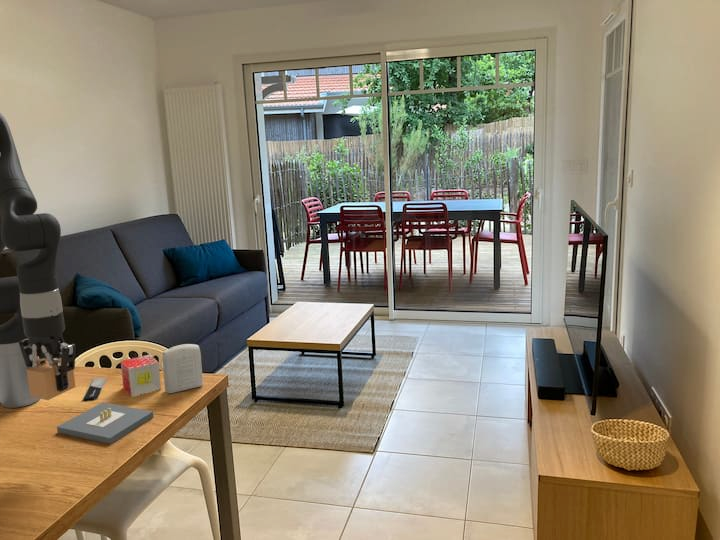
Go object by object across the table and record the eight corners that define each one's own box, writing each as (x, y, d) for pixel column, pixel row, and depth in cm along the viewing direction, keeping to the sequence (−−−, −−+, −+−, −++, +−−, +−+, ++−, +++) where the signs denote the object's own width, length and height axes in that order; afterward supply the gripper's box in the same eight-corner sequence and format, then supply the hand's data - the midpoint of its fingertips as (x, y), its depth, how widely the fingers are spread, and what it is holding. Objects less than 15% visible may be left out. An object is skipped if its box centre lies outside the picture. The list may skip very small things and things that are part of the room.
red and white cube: (131, 397, 156) (128, 369, 154) (123, 387, 162) (120, 360, 160) (161, 389, 160) (159, 362, 159) (152, 380, 167) (150, 354, 165)
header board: (57, 432, 137) (55, 418, 136) (103, 407, 150) (101, 394, 149) (110, 444, 131) (108, 429, 131) (153, 417, 144) (152, 403, 143)
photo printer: (200, 381, 165) (196, 339, 163) (205, 386, 162) (201, 343, 159) (163, 390, 160) (159, 347, 157) (167, 395, 156) (163, 351, 154)
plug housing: (30, 396, 123) (26, 369, 121) (58, 383, 129) (54, 358, 128) (48, 400, 121) (44, 372, 119) (75, 387, 127) (72, 360, 126)
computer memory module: (92, 378, 168) (107, 376, 168) (92, 381, 168) (107, 380, 169) (81, 399, 154) (97, 397, 154) (81, 403, 154) (98, 401, 155)
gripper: (0, 313, 120) (13, 390, 124) (52, 319, 115) (63, 400, 119) (33, 303, 127) (43, 377, 131) (83, 309, 122) (92, 386, 125)
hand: (53, 387), depth 125 cm, fingers closed on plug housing, 5 cm apart
